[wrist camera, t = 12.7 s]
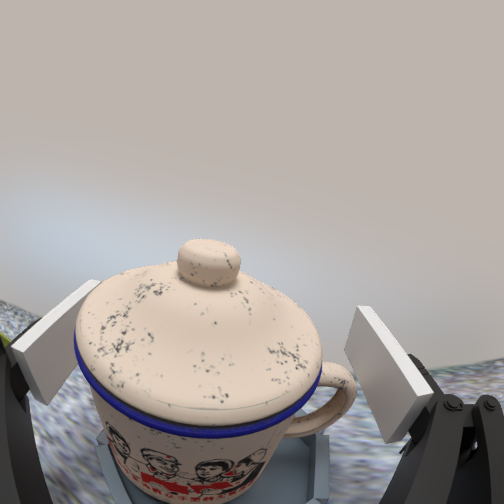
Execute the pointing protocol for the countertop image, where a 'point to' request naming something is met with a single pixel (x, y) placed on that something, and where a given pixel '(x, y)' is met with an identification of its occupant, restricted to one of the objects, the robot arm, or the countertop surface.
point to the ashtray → (266, 486)
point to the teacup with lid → (201, 373)
